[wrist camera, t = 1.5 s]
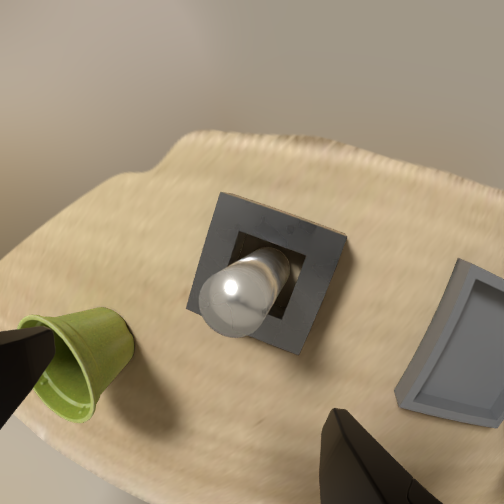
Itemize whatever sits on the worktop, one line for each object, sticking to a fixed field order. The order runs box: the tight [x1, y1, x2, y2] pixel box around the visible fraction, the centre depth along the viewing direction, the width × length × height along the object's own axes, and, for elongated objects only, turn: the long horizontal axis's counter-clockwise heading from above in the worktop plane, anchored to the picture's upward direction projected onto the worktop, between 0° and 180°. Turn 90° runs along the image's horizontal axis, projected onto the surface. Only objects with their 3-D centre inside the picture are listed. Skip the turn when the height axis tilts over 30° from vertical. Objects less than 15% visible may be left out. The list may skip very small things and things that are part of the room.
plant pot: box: [17, 307, 134, 423], centre depth 23 cm, size 9×9×9 cm
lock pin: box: [199, 247, 290, 338], centre depth 18 cm, size 3×3×9 cm
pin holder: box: [186, 192, 347, 355], centre depth 22 cm, size 9×9×2 cm
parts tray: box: [394, 258, 504, 428], centre depth 18 cm, size 12×12×2 cm
